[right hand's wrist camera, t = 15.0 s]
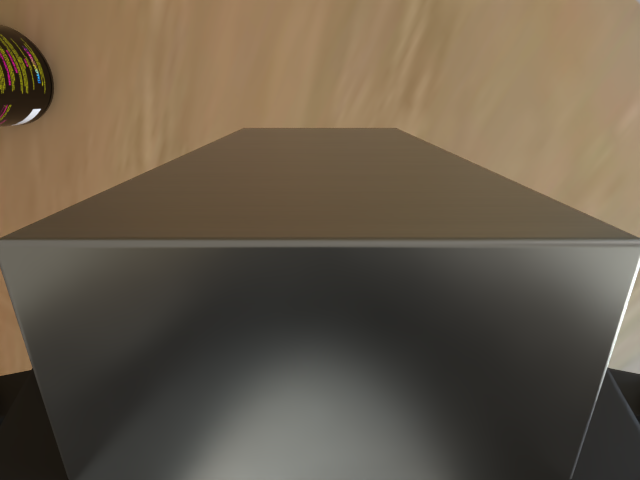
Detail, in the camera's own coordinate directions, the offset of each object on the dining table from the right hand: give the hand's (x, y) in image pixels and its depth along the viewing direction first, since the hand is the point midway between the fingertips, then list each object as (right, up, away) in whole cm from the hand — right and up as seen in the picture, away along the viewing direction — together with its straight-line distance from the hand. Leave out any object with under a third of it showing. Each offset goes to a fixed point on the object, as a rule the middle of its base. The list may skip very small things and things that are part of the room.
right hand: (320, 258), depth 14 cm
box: (0, -6, +5) cm, 8 cm away
